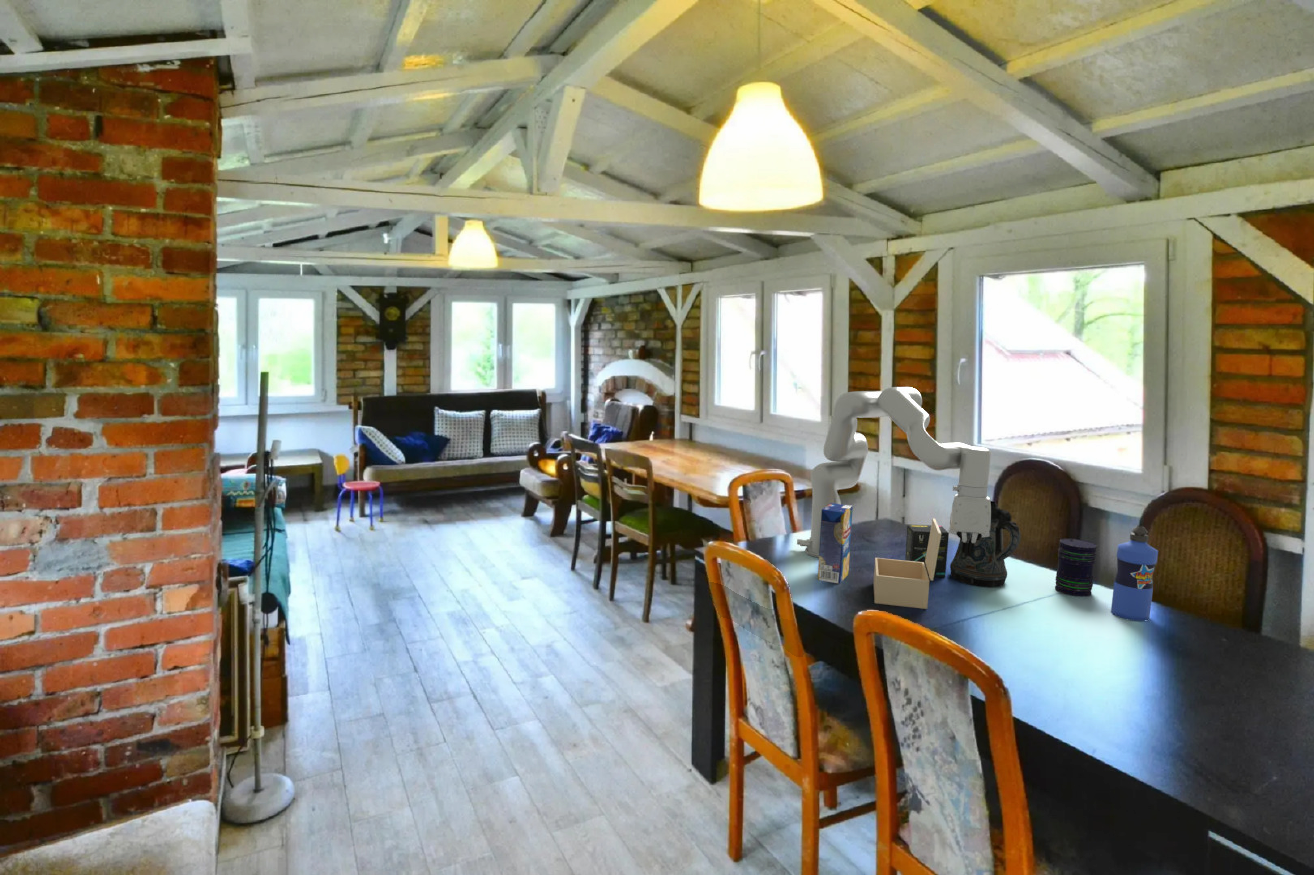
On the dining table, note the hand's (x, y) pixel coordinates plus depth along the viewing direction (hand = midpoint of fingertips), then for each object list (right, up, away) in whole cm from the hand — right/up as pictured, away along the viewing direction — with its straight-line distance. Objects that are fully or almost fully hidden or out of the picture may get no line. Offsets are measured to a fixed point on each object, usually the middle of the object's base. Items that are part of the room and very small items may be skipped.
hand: (967, 555), depth 211 cm
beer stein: (+14, -12, +23) cm, 29 cm away
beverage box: (-33, -10, +22) cm, 40 cm away
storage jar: (+38, -13, +14) cm, 43 cm away
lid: (-9, +2, +2) cm, 10 cm away
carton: (-17, -13, +6) cm, 22 cm away
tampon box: (-2, -10, +29) cm, 31 cm away
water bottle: (+43, -16, -4) cm, 46 cm away
